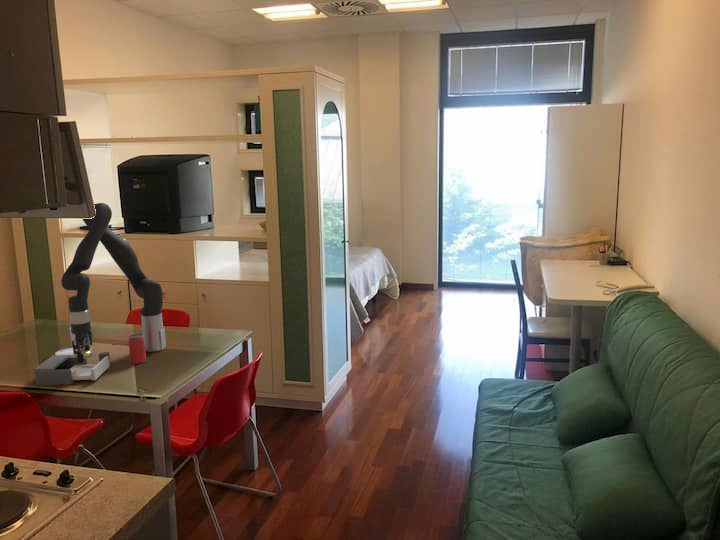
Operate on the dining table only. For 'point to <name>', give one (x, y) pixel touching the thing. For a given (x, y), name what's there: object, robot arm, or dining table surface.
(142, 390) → the dining table surface
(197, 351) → the dining table surface
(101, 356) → the cylinder
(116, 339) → the dining table surface
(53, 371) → the housing
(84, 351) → the disc
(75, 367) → the tray
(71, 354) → the ramekin
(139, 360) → the beer can
